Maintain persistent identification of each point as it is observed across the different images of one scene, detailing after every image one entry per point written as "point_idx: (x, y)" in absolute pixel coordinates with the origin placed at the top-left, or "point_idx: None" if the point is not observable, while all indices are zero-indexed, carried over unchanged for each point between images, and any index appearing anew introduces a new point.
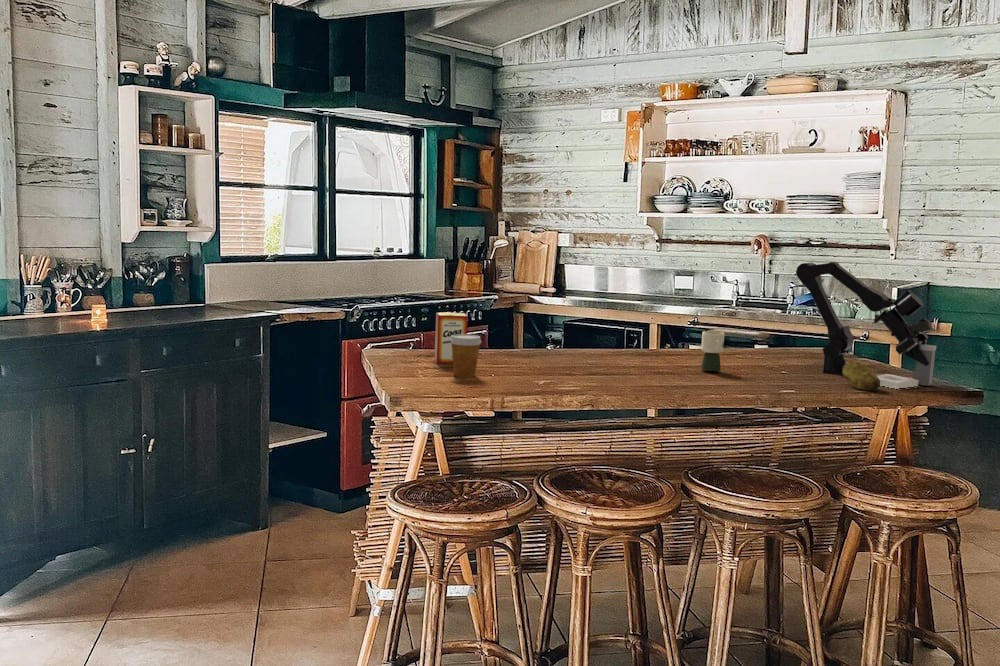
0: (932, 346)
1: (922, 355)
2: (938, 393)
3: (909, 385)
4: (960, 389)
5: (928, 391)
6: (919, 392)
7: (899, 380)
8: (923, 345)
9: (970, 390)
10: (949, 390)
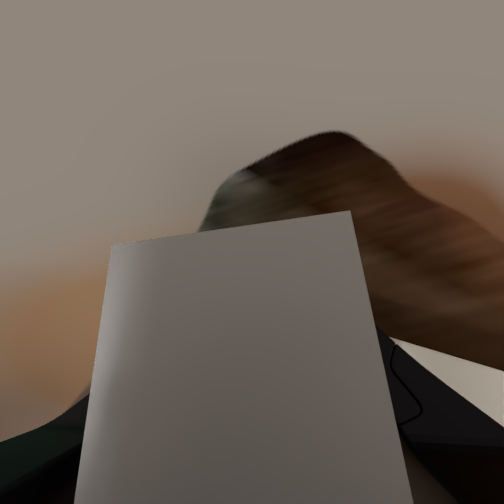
0: (233, 260)
1: (399, 349)
2: (412, 215)
3: (430, 349)
4: (243, 200)
5: (409, 256)
6: (486, 275)
7: (497, 416)
8: (258, 450)
9: (234, 176)
10: (298, 214)
